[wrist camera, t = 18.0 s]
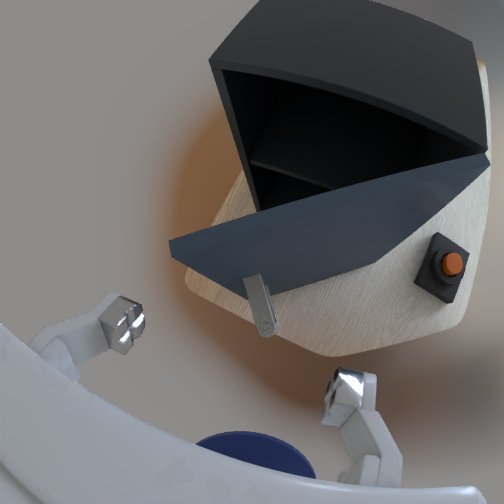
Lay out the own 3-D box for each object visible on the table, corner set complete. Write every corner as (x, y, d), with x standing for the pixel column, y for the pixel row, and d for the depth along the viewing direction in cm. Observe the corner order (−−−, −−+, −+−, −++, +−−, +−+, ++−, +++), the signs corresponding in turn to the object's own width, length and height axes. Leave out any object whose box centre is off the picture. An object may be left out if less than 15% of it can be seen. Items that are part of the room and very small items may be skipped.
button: (454, 279, 41) (459, 277, 40) (438, 269, 42) (443, 267, 40) (460, 261, 42) (465, 258, 40) (445, 250, 43) (450, 248, 41)
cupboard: (375, 255, 48) (488, 149, 15) (256, 211, 52) (207, 59, 19) (395, 178, 50) (472, 41, 18) (287, 140, 55) (276, -17, 22)
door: (386, 294, 46) (523, 241, 13) (260, 335, 47) (196, 362, 14) (373, 256, 48) (484, 152, 15) (248, 295, 49) (168, 240, 16)
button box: (446, 303, 44) (457, 301, 40) (413, 283, 46) (423, 279, 42) (464, 256, 45) (474, 251, 41) (432, 235, 47) (442, 228, 43)
